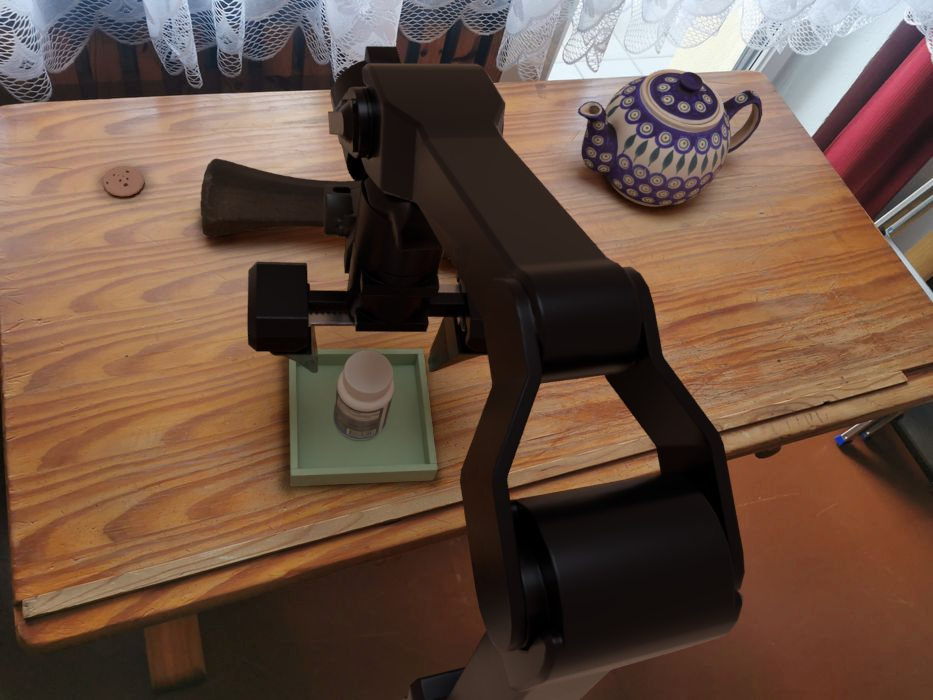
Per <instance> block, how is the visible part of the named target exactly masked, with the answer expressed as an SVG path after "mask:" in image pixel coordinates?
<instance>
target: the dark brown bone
mask: <svg viewBox="0 0 933 700" xmlns="http://www.w3.org/2000/svg"><path fill="white" fill-rule="evenodd" d="M325 185H343V186H350V187H351V190H353V189H355V188H360V187H361V180H360V181H355V180H327V179H326V180H323V179H322V180H320V179H312V178H304V177H303V178H302V177H295V176H290V175H283V174H280V173H274V172H269V171H266V170H262V169H259V168H255V167H251V166H250V167H249V166H247V165H244V164H240V163H236V162H233V161H230V160H227V159H221V158H213V159H212V160H211V161H210V162H209V163H208V164H207V166H206V168H205V171H204V174H203V180H202V182H201V190H200V202H199V203H200V206H199V207H200V215H201V230H202V234H203V236H205V237H219V236H225V235H233V234H238V233H245V232H250V231H257V230H267V229H268V230H269V229H280V228H281V229H282V228H323V197H324V186H325ZM443 257H444V258H447V259H449V258H448V256H447V254H446V253H445V251H444V254H443Z"/></svg>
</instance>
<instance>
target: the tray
mask: <svg viewBox="0 0 933 700" xmlns="http://www.w3.org/2000/svg"><path fill="white" fill-rule="evenodd" d="M317 349H318V372H317V373H312V372H310V371H309V370H308V369H306V368H305V367H303V366H302V365H301V364H299V363H297V362H295V361H293V360H291V359H289V358H288V401H289V402H288V408H289V410H288V413H289V414H288V415H289V417H288V418H289V419H288V421H289V485H290V487H309V486H310V487H312V486H334V485H351V484H352V485H357V484H379V483H381V484H382V483H383V484H384V483H403V482H427V481H430V482H431V481H434V480H435V477H436V474H437V472H438V470H439V469H438V464H437V463H438V462H437V452H436V445H435V436H434V428H433V422H432V421H433V419H432V411H431V403H430V401H431V400H430V394H429V384H428V377H427V369H426V361H425V351H424V348H317ZM360 351H375V352H378V353H380V354H382V355H383V356H384V357H386V358H387V359H388V361H389V362H390V364H391V366H392V369H393V382H394V393H393V397H392V401H391V405H390V409H389V413H388V417H387V421H386V424H385V426H384V428H383V430H382V431H381V432H380V433H379V434H378V435H376V436H375V437H373V438H371V439H368V440H362V441H359V440H352V439H350V438H348V437H346V436H344V435H343V434H342V433H341V432H340V431H339V430H338V429H337V427H336V425H335V423H334V407H335V399H336V391H337V382H338V379H339V376H340V374H341V372H342V371H343V370H344V366H345V363H346V362H347V360H348V359H349V358H350V357H351V356H352V355H353V354H355V353H357V352H360Z"/></svg>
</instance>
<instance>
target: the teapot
mask: <svg viewBox="0 0 933 700" xmlns="http://www.w3.org/2000/svg"><path fill="white" fill-rule="evenodd" d="M750 105H751V111H750V114H749V116H748V118H747V120H746V121H745V123H744V124H743V125H742V127H741V128H740V129H739V130H738V131H736V133H734V134H733V135H732V134H731V133H732V130H731V123H730V121H731V120H732V119H733V117H734V116H735V115H737V113H738V112H740V111H741V110H742V109H743V108H746V107H748V106H750ZM577 114H578V115H579V116H581V117H583V118H584V119H586V120H587V122H586V128H585V132H584V135H583V139H582V144H581V151H580V155H581V158H582V161H583V163H584V165H585V166H586V168H588V170H591V171H592V172H594V173H598V174H600V175H603V176H604V177H605V178H606V179H607V180H608V181H609V183H610V184H611V186H612V187H613V188H614V190H615V191H616V192H617V193H619V194H620V195H621V196H622V197H624V198H625V199H627V200H628V201H630V202H633V203H635V204H636V205H641V206H645V207H653V208H654V207H655V208H657V207H658V208H659V207H664V206H674V205H679V204H683V203H687V202H688V201H690V200H692V199H694V198H696V197H697V196H698V195H700V193H702V192H703V191H704V190H705V189H706V188H707V187H708V186H709V185H710V184H711V183H712V181H713V180H714V179H715V177H716V176H717V174H718V173H719V172H720V170H721V168H722V166H723V164H724V162H725V160H726V158H727V156H728V154H730V153H733V152H735V151H736V150H738V149H739V148H740V147H741V146H742V145H744V144H745V143H746V142H747V141H748V140H749V139H750V138H751V137H752V135H753V134H754V132H755V131H756V130H757V129H758V127H759V126H760V124H761V121H762V117H763V102H762V100H761V98H760V95H759V94H757V93H756V92H755V91H754V90H751V89H750V90H748V89H747V90H744V91H742V92H740V93H738V94H735V95H734V96H733V97H731V98H729V99H728V100H726V101H724V102H723V100H722V98H721V96H720V94H719V93H718V92H717V90H716V89H715V88H714V87H713V86H712V85H711V84H709V83H708V82H707V81H706V80H704V79H703V78H701V76H700V75H699V74H697V73H695V72H692V71H685V70H681V69H674V68H673V69H672V68H665V69H658V70H656V71H654V72H652V73H650V74H648V75H646V76H645V75H644V76H641V77H638V78H636V79H633V80H632V81H630V82H628V83H626V84H625V85H623V86H622V87H620V89H619V90H618V91H617V92H616V93H615V94H614V95H613V96H612V97H611V99H610V100H609V102H608V104H607V105H606V107H605V108H604V106H603V105H602V104H601V103H600V102H599V101H594V100H591V101H590V100H589V101H586V102H584V103H583V104H582V105H581V106H579V107H578V109H577Z"/></svg>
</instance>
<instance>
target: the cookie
mask: <svg viewBox="0 0 933 700" xmlns="http://www.w3.org/2000/svg"><path fill="white" fill-rule="evenodd" d="M144 184H145V178H144V175H143V173H142V172H141V171H140V170H139V169H137V168H135V167H134V166H128V165H121V166H115V167H113V168H110V169H109V170H107V171H106V172H105V173H104V176H103V177H102V185H103V188H104V189H105V190H106V192H107V193H109V194H111V195H113V196H116V197H129V196H132V195H134V194H137V193H139V192H140V191H141V190H142V189H143V187H144Z"/></svg>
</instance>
